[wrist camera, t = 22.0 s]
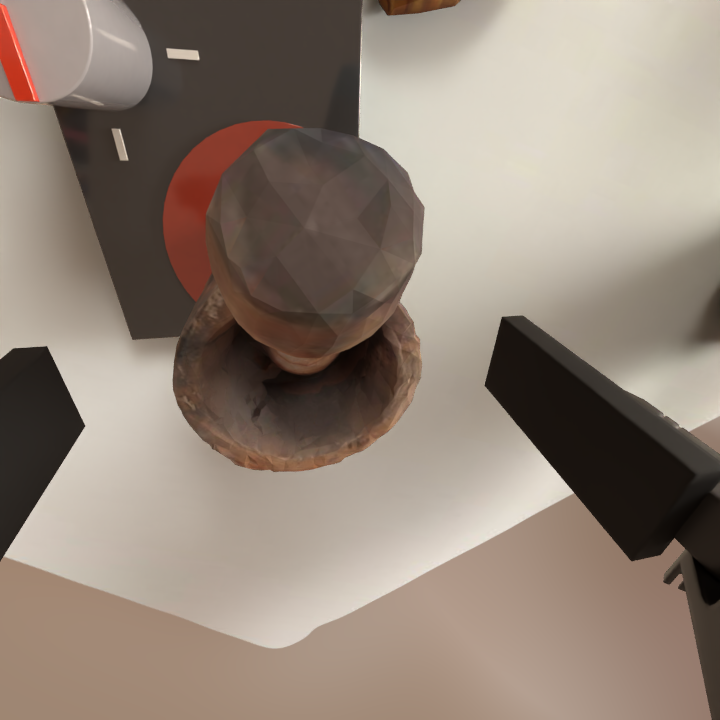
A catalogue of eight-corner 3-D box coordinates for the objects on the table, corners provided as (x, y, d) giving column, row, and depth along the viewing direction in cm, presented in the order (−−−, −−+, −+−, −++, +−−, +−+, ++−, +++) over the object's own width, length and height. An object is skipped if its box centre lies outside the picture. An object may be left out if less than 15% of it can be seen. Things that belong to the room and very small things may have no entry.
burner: (385, 125, 21) (387, 125, 21) (373, 329, 28) (374, 331, 28) (134, 115, 18) (132, 114, 18) (190, 342, 25) (189, 344, 25)
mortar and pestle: (153, 174, 20) (-451, 434, 3) (303, 111, 19) (515, 23, 3) (258, 345, 26) (246, 721, 10) (370, 298, 26) (553, 593, 10)
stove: (353, -37, 19) (365, -59, 17) (348, 310, 29) (355, 325, 27) (-39, -87, 16) (-89, -122, 13) (111, 325, 26) (97, 343, 24)
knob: (7, -33, 15) (-186, -152, 9) (136, -19, 16) (49, -118, 10) (55, 109, 18) (-66, 99, 11) (164, 113, 19) (110, 106, 12)
